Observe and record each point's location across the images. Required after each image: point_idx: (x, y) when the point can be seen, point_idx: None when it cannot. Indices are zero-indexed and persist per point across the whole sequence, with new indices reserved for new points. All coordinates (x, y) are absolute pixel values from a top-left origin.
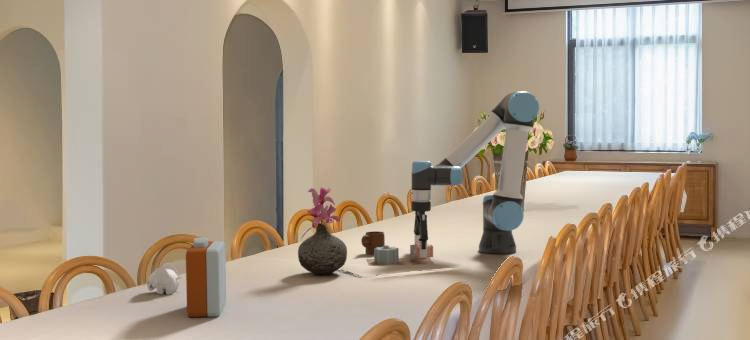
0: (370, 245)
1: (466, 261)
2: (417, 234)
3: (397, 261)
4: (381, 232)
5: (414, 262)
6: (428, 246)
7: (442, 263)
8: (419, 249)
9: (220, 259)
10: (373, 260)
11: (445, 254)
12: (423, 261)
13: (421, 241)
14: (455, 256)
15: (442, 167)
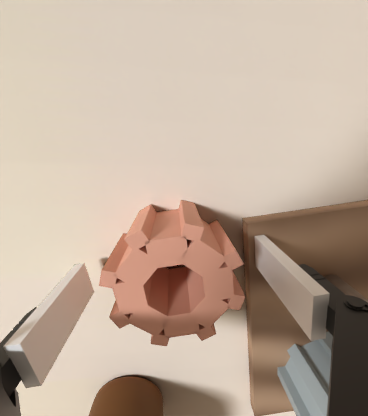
0: None
1: (281, 4)
2: (12, 379)
3: (329, 335)
4: None
5: (360, 279)
6: (216, 252)
7: (319, 157)
8: (239, 290)
9: None
10: (286, 398)
11: (34, 130)
12: (346, 246)
13: (323, 325)
14: (99, 67)
15: None
